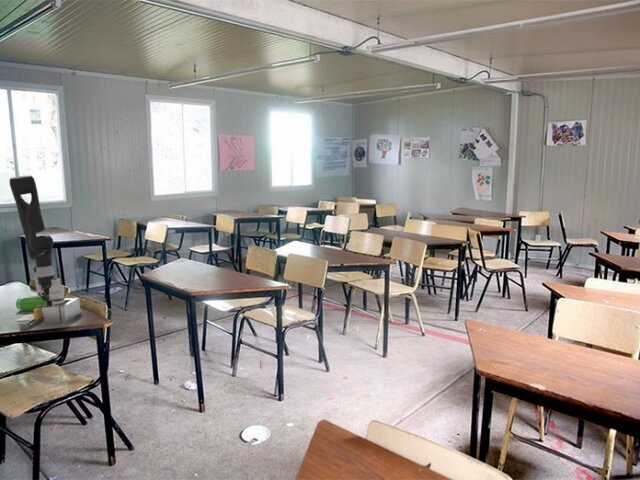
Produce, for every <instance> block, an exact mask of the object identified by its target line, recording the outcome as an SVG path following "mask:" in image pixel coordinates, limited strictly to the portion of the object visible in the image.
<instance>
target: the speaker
mask: <svg viewBox="0 0 640 480" xmlns="http://www.w3.org/2000/svg"><path fill="white" fill-rule="evenodd" d="M37 305H46V306H47V303H46V301H43V300H42V298H41V297H40V296H37V295H28V296H21V297H18V298H17V299H16V301H15V306H16V308H17V310H19V311H27V312H29V311H31V312H34V311H33V310H34V309H36V306H37Z"/></svg>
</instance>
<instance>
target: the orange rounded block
mask: <svg viewBox="0 0 640 480" xmlns="http://www.w3.org/2000/svg"><path fill="white" fill-rule="evenodd" d="M44 306H46V305H37V306H36V309H34V310H33V311H32V312H33V314H34V318H35V321H36V320H38V319H40V318H41V317H43V311H42V307H44Z"/></svg>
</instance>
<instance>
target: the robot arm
mask: <svg viewBox="0 0 640 480" xmlns="http://www.w3.org/2000/svg"><path fill="white" fill-rule="evenodd" d="M8 182H9V187H10V189H11V192H12V196H13V199H14V201H15V204H16V208H17V213H18V217H19V221H20V225H21V228H22V231H23V234H24V239H25V243H26V247H27V254H28V257H29V259H30V260H34V261H35V266H34V267H33V274H34V281H35V288H36V296H40V297H41V298H42V300H43V301H46V303H47V306H51V305H53V304H52V298H51V295H50V291H49V290H50V287H51V286H52V283H51V280H52V279H56V278H55V271H54V266H53V262H52V261H53V260H52V256H53V255H52V254H53V247H54V239H53V238H52V236H51V235H49V234H44V235H37V234H39V233H42V232H43V231H45V229H46V227H45V226H46V225H45V224H44V220H43V219H44V218H43V216H42V211H41V206H40V200H39V193H38V188H37V182H36V180H35V178H34V177H33V175H31V174H29V175H21V176H13V177H10V178H9V181H8ZM28 194H30V196H31V197H30V203H28V202H27V201H26V200H25V199H24V198H23V195H28Z"/></svg>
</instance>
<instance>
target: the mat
mask: <svg viewBox="0 0 640 480" xmlns="http://www.w3.org/2000/svg"><path fill="white" fill-rule="evenodd" d="M32 319H34V313H29V314H26V315H24V316H22V317H20V318H18V319H16V322H18V323H22V322H29V321H30V320H32Z"/></svg>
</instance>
